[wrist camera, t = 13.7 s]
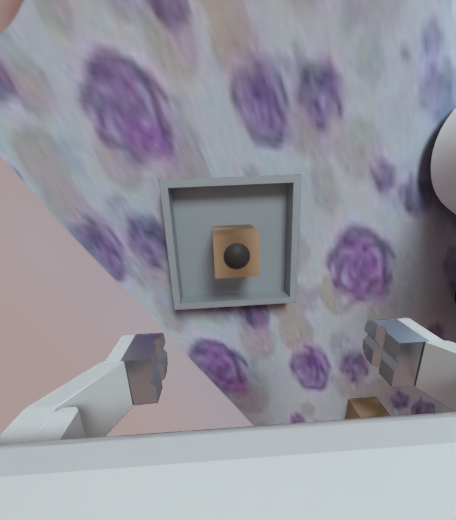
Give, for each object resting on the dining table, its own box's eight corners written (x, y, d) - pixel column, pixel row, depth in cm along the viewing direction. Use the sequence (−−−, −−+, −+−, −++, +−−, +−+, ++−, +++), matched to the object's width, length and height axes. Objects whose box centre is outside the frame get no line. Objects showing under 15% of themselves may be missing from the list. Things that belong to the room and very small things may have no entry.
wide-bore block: (250, 224, 28) (259, 232, 22) (251, 259, 30) (259, 276, 24) (213, 225, 28) (212, 234, 22) (215, 261, 29) (215, 279, 24)
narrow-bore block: (375, 396, 38) (404, 434, 32) (372, 418, 39) (399, 458, 33) (348, 398, 38) (372, 436, 32) (345, 420, 39) (368, 460, 33)
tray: (292, 176, 28) (301, 174, 25) (288, 292, 32) (296, 302, 29) (165, 181, 27) (159, 180, 24) (178, 299, 31) (174, 310, 29)
